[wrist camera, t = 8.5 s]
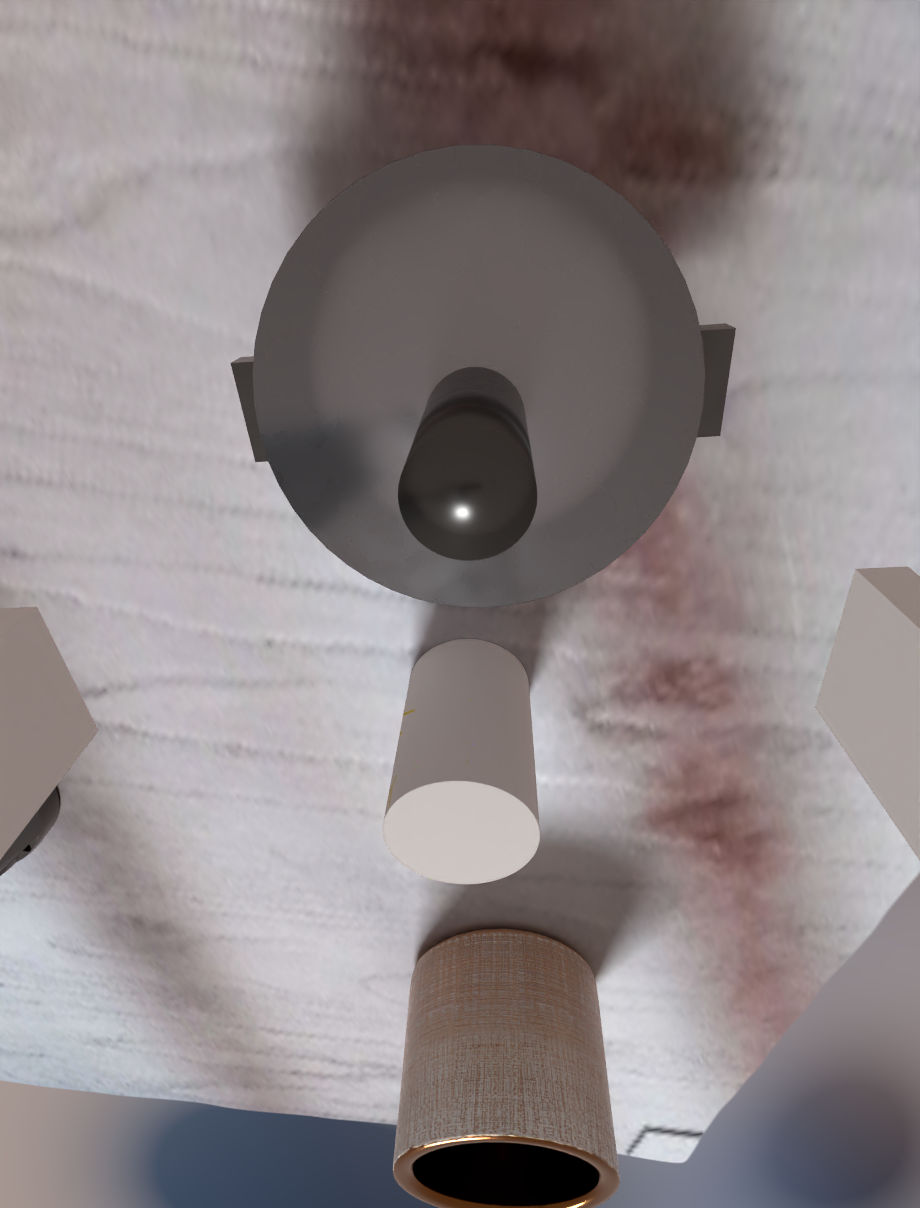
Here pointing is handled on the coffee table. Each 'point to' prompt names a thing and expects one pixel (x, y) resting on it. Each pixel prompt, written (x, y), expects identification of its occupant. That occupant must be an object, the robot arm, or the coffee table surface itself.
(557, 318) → the lid
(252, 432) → the pot
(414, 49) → the coffee table surface
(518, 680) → the beige cylinder
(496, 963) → the planter
